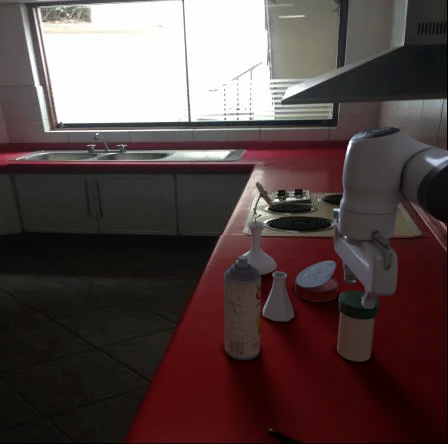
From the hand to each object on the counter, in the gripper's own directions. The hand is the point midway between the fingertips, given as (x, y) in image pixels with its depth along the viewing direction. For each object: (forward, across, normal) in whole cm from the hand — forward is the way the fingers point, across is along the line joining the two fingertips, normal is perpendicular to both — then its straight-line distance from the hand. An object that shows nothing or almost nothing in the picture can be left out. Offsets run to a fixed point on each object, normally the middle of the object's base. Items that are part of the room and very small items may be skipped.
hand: (358, 294), depth 77 cm
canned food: (+13, +24, 0) cm, 28 cm away
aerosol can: (+13, +1, +21) cm, 25 cm away
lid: (+1, 0, 0) cm, 1 cm away
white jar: (+12, 0, 0) cm, 12 cm away
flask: (+13, +14, +11) cm, 22 cm away
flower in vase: (+13, +39, +13) cm, 43 cm away
